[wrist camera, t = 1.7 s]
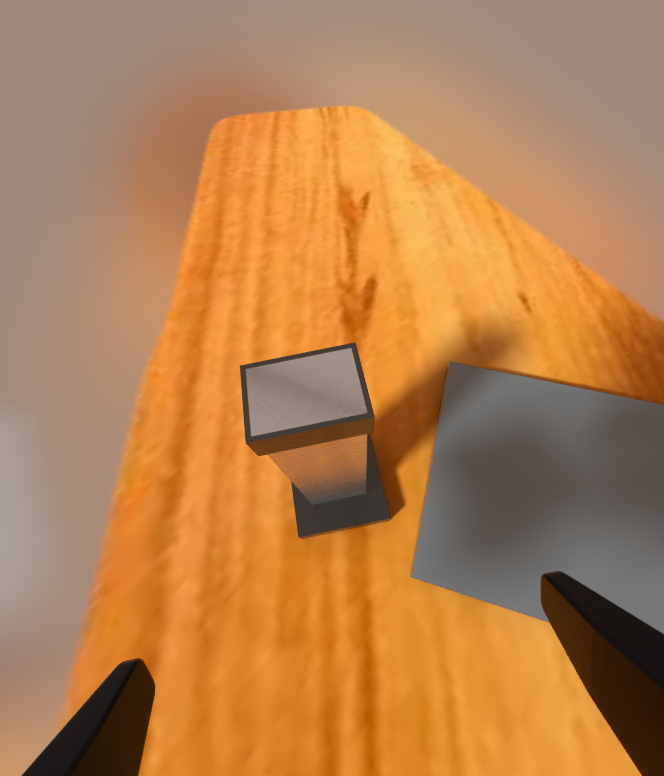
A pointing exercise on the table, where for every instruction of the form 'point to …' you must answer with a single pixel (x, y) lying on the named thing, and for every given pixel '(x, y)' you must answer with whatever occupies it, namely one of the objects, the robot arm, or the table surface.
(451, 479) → the plate
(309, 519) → the tray topped pillar
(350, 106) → the table surface
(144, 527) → the table surface
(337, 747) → the table surface
